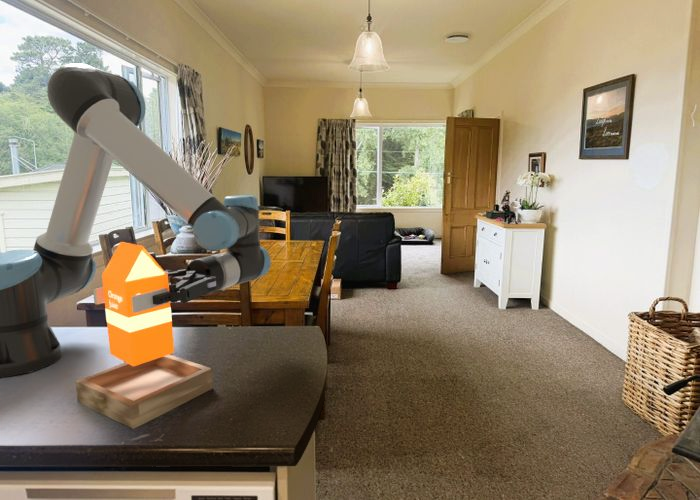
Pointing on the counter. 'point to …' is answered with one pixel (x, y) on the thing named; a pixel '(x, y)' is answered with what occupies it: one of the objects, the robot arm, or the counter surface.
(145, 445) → the counter surface
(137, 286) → the orange juice
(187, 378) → the wooden tray
